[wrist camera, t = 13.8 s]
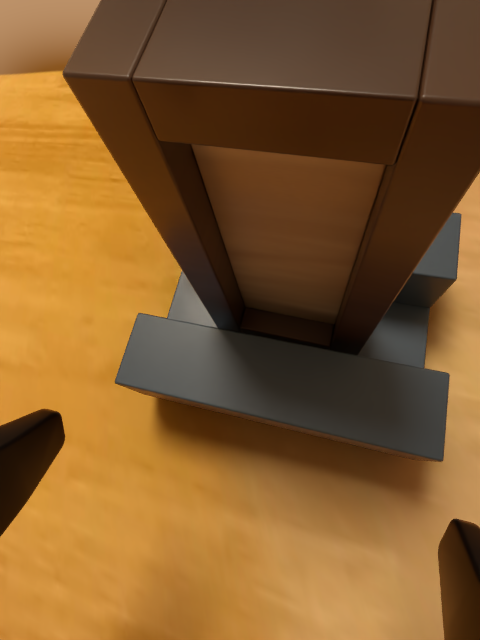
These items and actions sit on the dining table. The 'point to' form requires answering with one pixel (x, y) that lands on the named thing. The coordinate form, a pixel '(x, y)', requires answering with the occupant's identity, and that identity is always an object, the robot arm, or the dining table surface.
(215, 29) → the frame
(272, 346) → the holder
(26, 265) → the dining table surface
